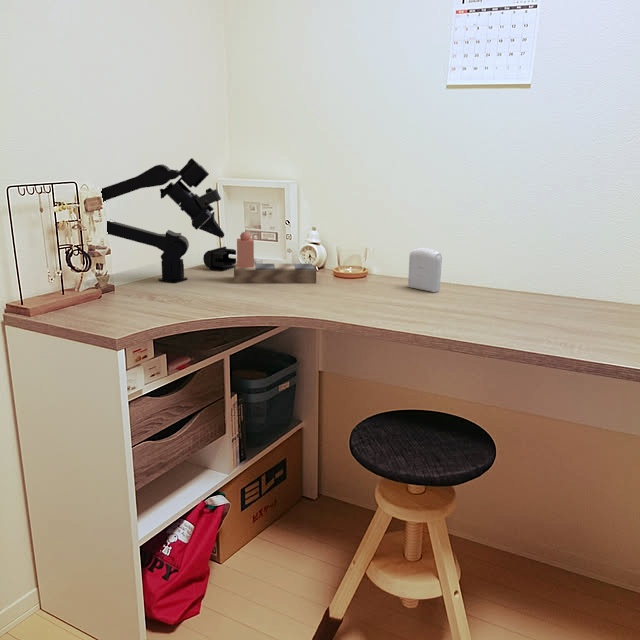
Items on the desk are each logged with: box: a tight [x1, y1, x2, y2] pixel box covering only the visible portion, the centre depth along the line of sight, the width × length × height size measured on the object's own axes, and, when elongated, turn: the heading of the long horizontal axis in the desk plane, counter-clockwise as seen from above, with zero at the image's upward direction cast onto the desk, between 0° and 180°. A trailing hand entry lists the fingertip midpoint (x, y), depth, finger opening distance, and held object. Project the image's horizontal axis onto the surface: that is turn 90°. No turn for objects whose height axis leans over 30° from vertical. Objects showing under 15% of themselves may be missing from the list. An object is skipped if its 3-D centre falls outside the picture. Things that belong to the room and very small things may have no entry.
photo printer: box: [407, 247, 443, 293], centre depth 193 cm, size 10×4×12 cm, turn 44°
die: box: [254, 258, 264, 264], centre depth 213 cm, size 4×4×4 cm
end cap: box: [202, 246, 237, 272], centre depth 218 cm, size 10×7×7 cm
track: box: [233, 262, 317, 284], centre depth 201 cm, size 25×9×4 cm, turn 97°
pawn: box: [236, 231, 255, 267], centre depth 198 cm, size 5×5×10 cm
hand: (223, 236), depth 196 cm, fingers open, 3 cm apart
